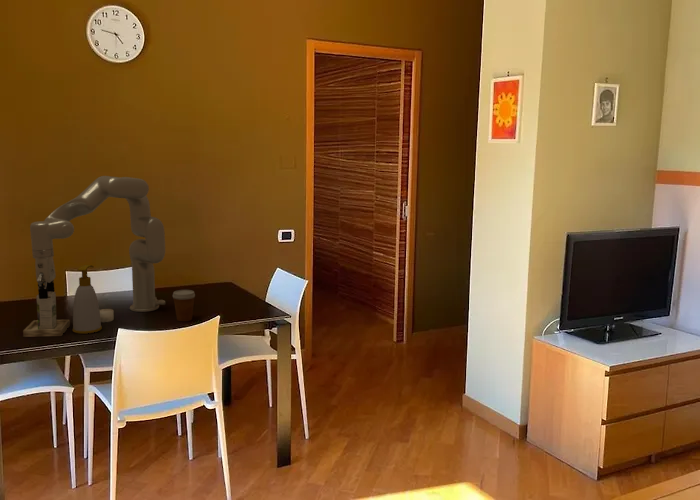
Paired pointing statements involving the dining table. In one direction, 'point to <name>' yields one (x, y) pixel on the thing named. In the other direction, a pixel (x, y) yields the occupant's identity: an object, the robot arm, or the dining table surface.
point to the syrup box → (47, 312)
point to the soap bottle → (86, 306)
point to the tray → (57, 331)
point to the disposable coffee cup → (184, 304)
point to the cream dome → (106, 315)
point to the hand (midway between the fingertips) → (47, 295)
